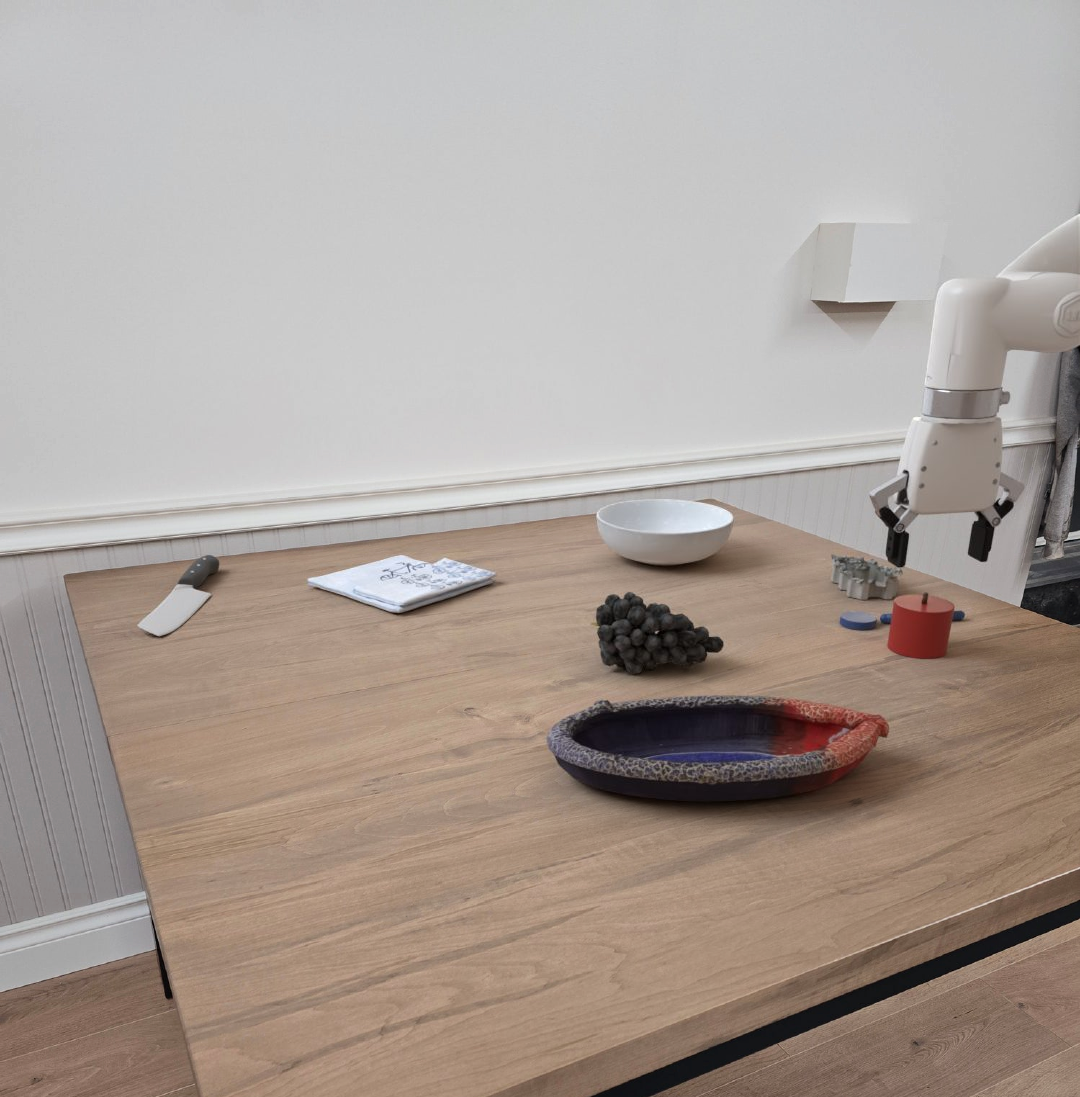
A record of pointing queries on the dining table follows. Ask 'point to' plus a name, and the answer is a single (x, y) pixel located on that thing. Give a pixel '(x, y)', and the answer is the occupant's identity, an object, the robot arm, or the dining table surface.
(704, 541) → the serving bowl
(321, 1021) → the dining table surface
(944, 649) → the red stemmed cylinder
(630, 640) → the fruit
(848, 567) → the egg carton
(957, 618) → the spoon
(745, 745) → the dish
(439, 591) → the folded tea towel
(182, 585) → the kitchen knife
